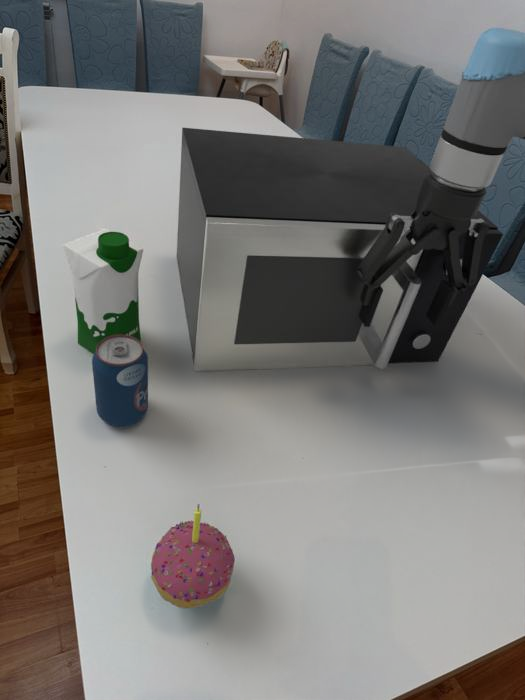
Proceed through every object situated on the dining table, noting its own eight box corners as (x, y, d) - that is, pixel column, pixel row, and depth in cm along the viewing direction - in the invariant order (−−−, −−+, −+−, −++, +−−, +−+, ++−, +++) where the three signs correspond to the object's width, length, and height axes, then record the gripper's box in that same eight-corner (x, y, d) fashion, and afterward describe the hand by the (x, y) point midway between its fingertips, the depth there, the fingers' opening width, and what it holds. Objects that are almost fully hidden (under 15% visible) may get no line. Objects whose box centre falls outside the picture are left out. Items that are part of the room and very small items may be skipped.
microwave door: (389, 389, 82) (451, 253, 66) (199, 399, 74) (214, 247, 58) (373, 358, 88) (425, 226, 71) (193, 364, 80) (206, 216, 63)
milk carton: (107, 370, 76) (99, 256, 63) (68, 343, 79) (53, 229, 66) (149, 344, 82) (149, 235, 69) (111, 319, 85) (104, 211, 72)
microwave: (439, 365, 89) (507, 235, 73) (195, 374, 78) (208, 223, 61) (368, 261, 115) (406, 147, 98) (176, 256, 104) (182, 127, 87)
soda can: (150, 428, 69) (151, 365, 61) (98, 434, 67) (91, 370, 59) (145, 392, 74) (144, 329, 66) (96, 397, 72) (89, 333, 64)
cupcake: (153, 545, 56) (154, 484, 49) (227, 543, 58) (240, 484, 50) (148, 626, 50) (148, 571, 42) (232, 621, 51) (247, 567, 44)
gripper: (518, 172, 66) (453, 305, 81) (359, 160, 60) (319, 306, 75) (554, 197, 61) (477, 335, 75) (383, 186, 55) (335, 338, 69)
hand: (398, 320), depth 75 cm, fingers open, 11 cm apart
